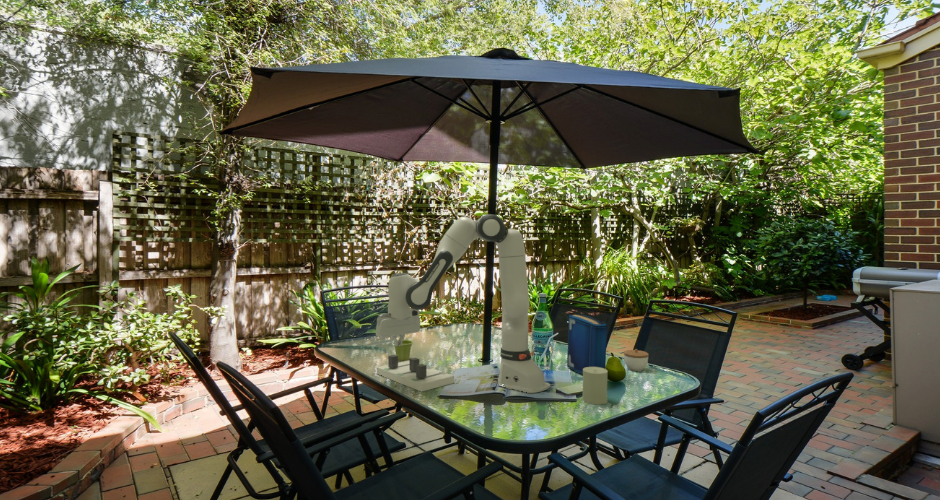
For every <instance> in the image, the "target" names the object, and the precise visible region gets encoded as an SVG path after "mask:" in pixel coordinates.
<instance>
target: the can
mask: <svg viewBox="0 0 940 500" xmlns="http://www.w3.org/2000/svg"><path fill="white" fill-rule="evenodd" d="M608 372H609V371H608V370H607V369H606V368H605V369H604V368H600V367H586V368H583V375H582V397H581V400H582V401H583V402H584V403H587V404H589V405H605V404H606V403H607V402H608Z"/></svg>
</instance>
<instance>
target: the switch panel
mask: <svg viewBox="0 0 940 500" xmlns="http://www.w3.org/2000/svg"><path fill="white" fill-rule="evenodd" d="M409 363H410V360H407V361H398V368H393V369H392V368H389V367H388V364H387V365H386V364H385V365H382V366H377V367H376V374H377V375H378V374H379V375H378V376H381V375H382V376H381V377H383V376H384V377H383V378H386V379H388V380H390V381H391V380H392V381H394V382H396V383H399V384H401V385H404V386H406V387H408V388H411V389H413V390H416V391H419V392H421V393H422V392H425V391H429V390H432V389H438V388H441V387H444V386H448V385H452V384H455V375H453V374H450V373H447V372H444V371H441V370H438V369H435V368H432V367H428V366H427V378H423V379H419V378H416V371H415V372H413V371H410V370H409ZM420 364H421V363H419V365H420Z"/></svg>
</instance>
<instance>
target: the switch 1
mask: <svg viewBox="0 0 940 500" xmlns="http://www.w3.org/2000/svg"><path fill="white" fill-rule="evenodd" d="M387 359H388V362H387V363H388V364H387V365H388V367H389V368H392V369H393V368H398V363H399V361H398V356H396V354H391V355H388V358H387Z"/></svg>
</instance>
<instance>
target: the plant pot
mask: <svg viewBox="0 0 940 500" xmlns="http://www.w3.org/2000/svg"><path fill="white" fill-rule="evenodd" d="M397 341H399V339H397ZM392 344H393V345H394V341H393V342H392ZM412 344H413V341H412V340H410V339H403V341H402V345H400V346H394V348H395V355H396V356H398V362H404V361H410V356H411V355H410V354H411V349H412Z"/></svg>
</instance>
